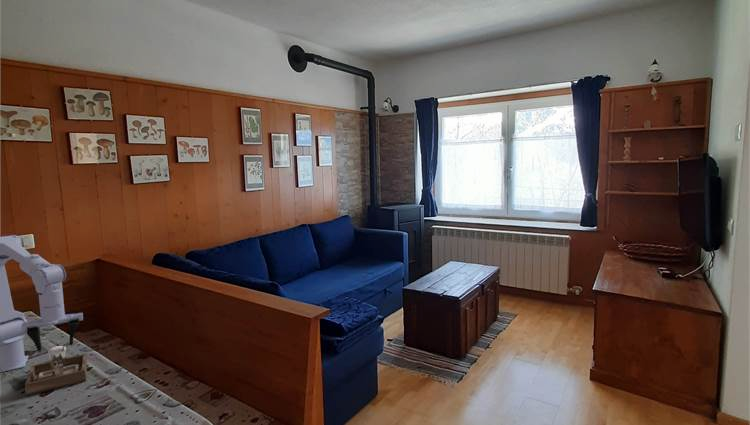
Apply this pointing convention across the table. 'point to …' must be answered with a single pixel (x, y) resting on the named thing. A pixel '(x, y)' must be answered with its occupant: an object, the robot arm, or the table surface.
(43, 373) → the socket box
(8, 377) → the table surface
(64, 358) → the milkshake
